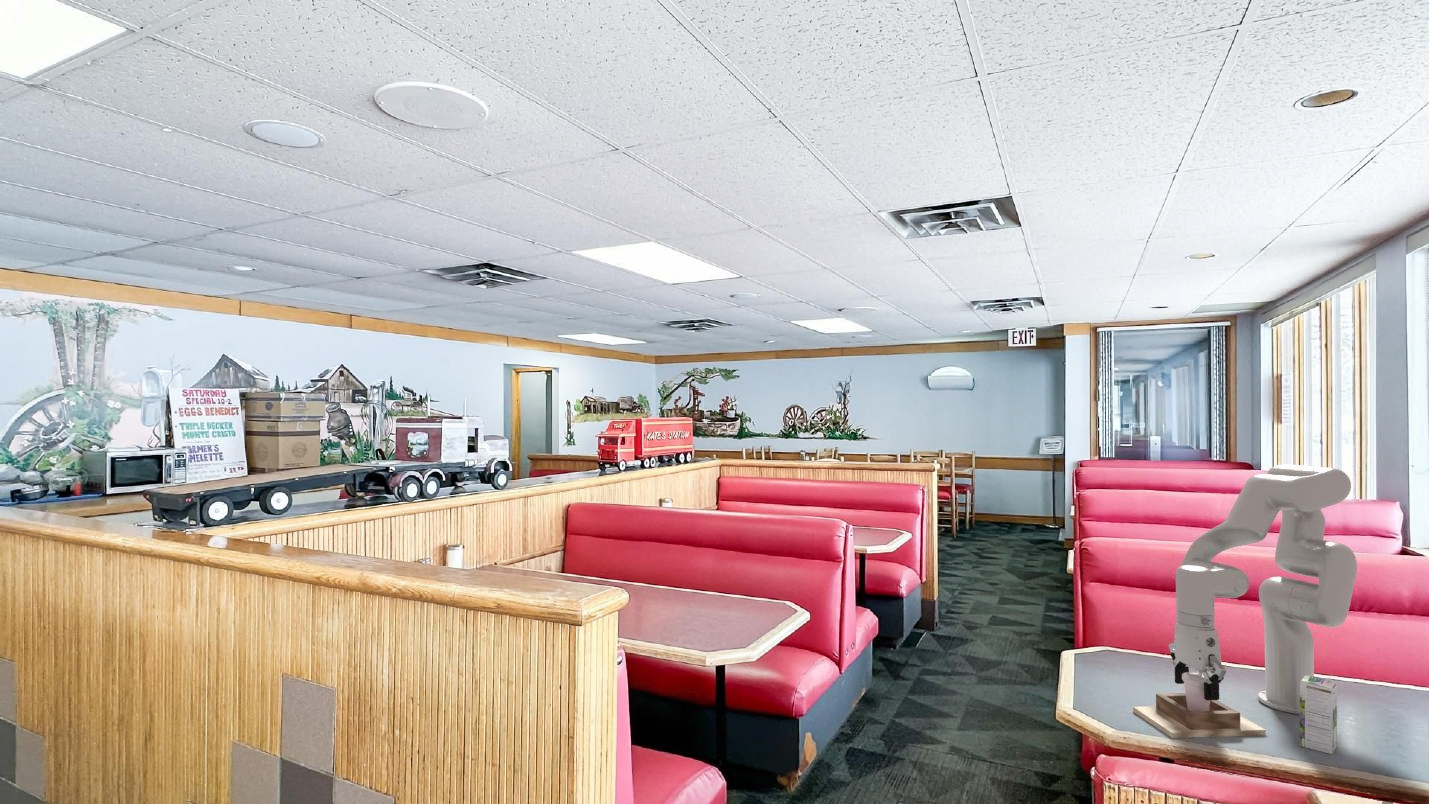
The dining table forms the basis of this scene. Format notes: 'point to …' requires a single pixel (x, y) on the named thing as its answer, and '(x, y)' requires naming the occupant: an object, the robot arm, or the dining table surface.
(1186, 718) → the socket stand
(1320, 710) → the syrup box
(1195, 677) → the smoothie
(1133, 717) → the dining table surface
